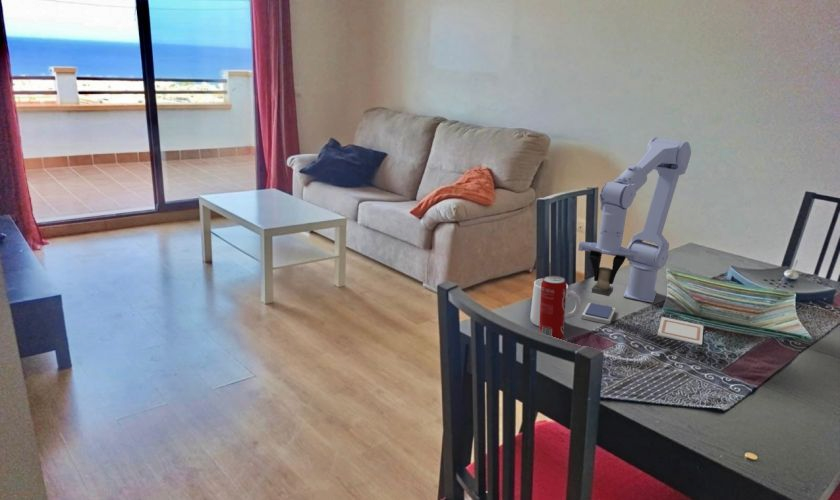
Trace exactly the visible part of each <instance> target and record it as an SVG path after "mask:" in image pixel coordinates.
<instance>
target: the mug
mask: <svg viewBox="0 0 840 500" xmlns="http://www.w3.org/2000/svg"><path fill="white" fill-rule="evenodd" d="M543 278H544V277H543ZM543 278H538V279H536V280H534V282H533V290H532V299H531V307H530V316H529V317H530V321H531V323H532V324H534V325H535V326H537V327H539V321H540V300H541V283H542V281H543ZM566 285H567V287H566V302H567V300H568V299H567V298H569V297H571V298H573V300H574V302H575V306H574V309H572V311H570V312H565V319H571V318H574V317H575V316H577V315H578V314H579V312H580V310H581V309H582V308H581V307H582V300H581V297H580V296H579V294H578V293H577V292H575V291H573V290H571V289H570V290H569V285H568V283H566ZM566 307H567V303H566V304H565V309H566Z"/></svg>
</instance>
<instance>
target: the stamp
mask: <svg viewBox="0 0 840 500" xmlns="http://www.w3.org/2000/svg"><path fill="white" fill-rule="evenodd" d="M611 274H612V268H610V267H605V266H600V268H599V273H598V279H597V281H596V283H595V284H594V285H593V286H592V288H591V292H590V293H591V294H592V293H593V294H596V295H602V296H605V297H610V296H611V294H612V293H613V292H614V286H612V285H611V284H610V278H611ZM610 285H611V286H610Z"/></svg>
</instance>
